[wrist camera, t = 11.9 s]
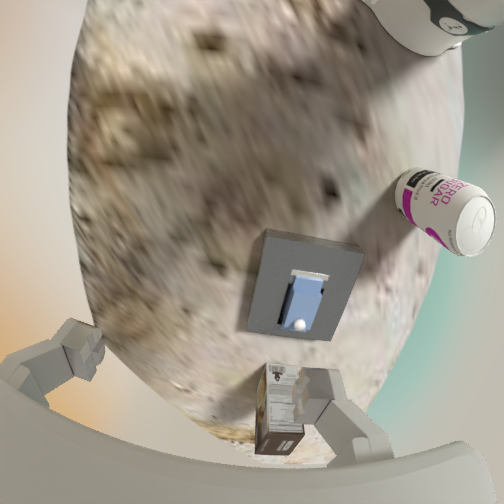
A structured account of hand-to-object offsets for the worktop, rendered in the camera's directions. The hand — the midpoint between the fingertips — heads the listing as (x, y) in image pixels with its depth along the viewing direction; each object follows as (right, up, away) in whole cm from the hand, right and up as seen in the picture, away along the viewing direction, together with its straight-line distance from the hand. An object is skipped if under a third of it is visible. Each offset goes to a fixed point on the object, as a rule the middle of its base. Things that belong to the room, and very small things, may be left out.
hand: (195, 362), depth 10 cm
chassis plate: (+10, -1, +32) cm, 33 cm away
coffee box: (+7, -21, +41) cm, 46 cm away
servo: (+9, -2, +32) cm, 34 cm away
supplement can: (+27, +13, +25) cm, 39 cm away
